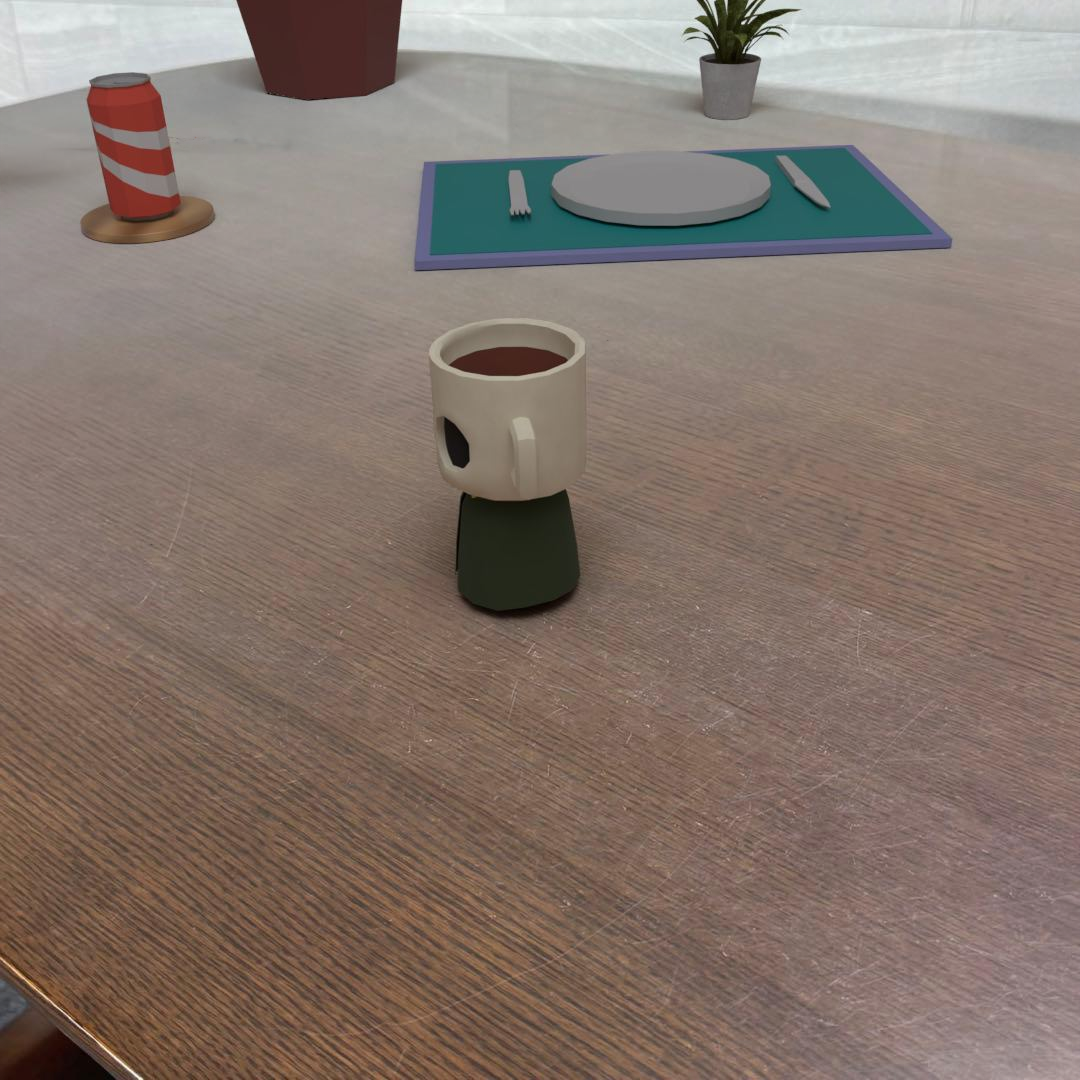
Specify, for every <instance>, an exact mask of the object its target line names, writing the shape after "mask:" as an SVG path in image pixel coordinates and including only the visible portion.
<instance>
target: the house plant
mask: <svg viewBox="0 0 1080 1080" xmlns="http://www.w3.org/2000/svg"><path fill="white" fill-rule="evenodd" d="M749 1H750V0H727V4H726V0H713V5H714V8H715V13H716V17H715V14H714V11H713V7H712V6H711V3H710V2H709V0H696V2H697V3H698V4H699V6H700V7H701V9H703V11H704V12H705V15H703V14H701V15H698V16H695V17H694V20H695V21H697V22H699V23H701V24H702V25H703V26H705V27H706V28H707V29H708V31H709V33H710V34H709V33H707V32H704V31H702V30H700V29H698V28H696V27H691V26H689V27H687V28H685V30H684V31H683V33H682V35H681V37H683V36H684V35H686V34H693V33H700V32H701V33H703V35H704V36H705V37H706V38H705V37H701V36H689V37H688V38H686V39H685V40H684V42H683V43H685V42H687V41H690V40H694V39H699V40H700V39H701V40H704V41H707V42H708V43H709V44H710V45H711V47H712V50H713V52H714V53H713V52H712V53H707V54H704V55H701V56H700V57H699V59H698V60H699V70H700V79H701V89H702V90H701V91H702V100H703V101H702V102H703V109H704V115H705V117H707V118H711V119H715V120H727V121H728V120H740V119H745V118H747V117H749V115H750V112H751V107H752V103H753V99H754V94H755V91H756V90H755V89H756V86H757V81H758V76H759V72H760V68H761V63H762V57H760V56H758V55H756V54H753V53H747V52H749V50H750V49H751V48H752V47H753V46H755V44H756V43H757V42H758V41H759V40H760V39H761V38H763V37H764V36H777V37H779V38H781V39H782V40H783V41H785V40H784V38H783V36H782V35H781V33H779V32H778V31H777V32H776V31H770V30H771V29H776V30H780V31H783V32H784V33H786V34H787V35H789V32H788V31H787V30H786V29H785V28H784V27H781V24H776V25H769V26H765V27H763V25H765V24H766V23H768V22H769V21H771V20H773V19H776V18H779V17H781V16H783V15H786V14H788V13H794V12H796V13H797V12H799V11H803V9H801V8H778V9H772V10H768V11H765V12H763V13H756V12H757V11H758V9H759V8H760V7H761V6H762V5H763V4H764V3H765V2H766V1H767V0H760V1H759V0H753V1H752V2H751V3H750V4H749ZM758 1H759V2H758ZM756 3H757V4H756ZM748 4H749V5H748ZM753 7H754V8H753ZM750 11H751V12H750ZM749 12H750V14H749V15H748V16H747V14H748V13H749ZM716 19H717V20H716ZM751 19H752V20H751ZM743 22H744V23H743ZM762 27H763V28H762ZM765 30H766V31H765ZM763 31H765V32H763ZM711 35H712V36H711ZM757 38H758V39H757ZM755 39H756V41H754V42H753V40H755ZM752 42H753V43H752Z"/></svg>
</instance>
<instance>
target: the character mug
mask: <svg viewBox="0 0 1080 1080" xmlns="http://www.w3.org/2000/svg"><path fill="white" fill-rule="evenodd" d="M586 348H587V347H586V340H585V339H584V338H583V337H582V336H581V335H580V334H578V332H576V331H575V330H574V329H572V328H570V327H567V326H564V325H562V324H559V323H556V322H553V321H547V320H541V319H536V318H529V317H524V318H523V317H512V318H511V317H508V318H507V317H503V318H502V317H501V318H500V317H499V318H493V319H486V320H481V321H480V320H479V321H475V322H470V323H467V324H464V325H461V326H458V327H456V328H453V329H450V330H448V331H446V332H445V333H444V334H442V335H440V336H439V337H438V338H436V339H435V340H433V342H432V343H431V345H430V347H429V351H428V362H429V363H428V364H429V375H430V387H431V388H430V390H431V399H432V400H431V401H432V416H433V418H432V419H433V422H432V423H433V433H434V439H435V440H434V441H435V448H436V449H435V450H436V462H437V467H438V469H439V473H440V476H441V478H442V480H443V481H444V482H445V483H447V484H448V485H449V486H451V487H452V488H454V489H457V490H458V491H461V494H460V497H459V507H458V518H457V529H456V538H455V565H454V567H455V568H454V575H455V576H457V591H458V592H459V593H460V594H461V595H462V596H464V597H465V598H466V599H467V600H468V601H469V602H471V603H472V604H474V605H477V606H480V607H484V608H486V609H490V610H494V611H497V612H501V611H509V610H516V609H523V608H528V607H532V606H537V605H540V604H544V603H549V602H553V601H555V600H557V599H559V598H561V597H562V596H565V595H566V594H568V593H569V592H571V591H573V590H574V589H575V587H576V585H577V583H578V581H579V579H580V578H581V570H580V568H581V567H580V560H579V559H580V558H579V552H578V542H577V537H576V531H575V526H574V520H573V514H572V513H573V512H572V508H571V503H570V502H571V501H570V497H569V493H568V491H567V489H569V488H571V487H573V486H574V485H575V484H576V483H577V482H578V480H579V479H580V478H581V477H582V476H583V475H584V474H585V471H586V466H587V349H586Z"/></svg>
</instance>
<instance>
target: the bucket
mask: <svg viewBox="0 0 1080 1080" xmlns="http://www.w3.org/2000/svg"><path fill="white" fill-rule="evenodd" d="M235 1H236V4H237V7H238V10H239V13H240V16H241V19H242V23H243V25H244V28H245V31H246V33H247V34H246V35H247V37H248V40H249V43H250V46H251V49H252V52H253V55H254V58H255V61H256V64H257V68H258V71H259V74H260V77H261V80H262V82H263V86H264V88H265V92H266V94H267V93H271V94H278V95H284V96H289V97H288V98H290V97H295V98H294V99H296V98H300V99H299V100H302V99H306V100H305V101H312V100H311V99H318V100H324V99H323V98H330V99H340V98H341V99H342V98H352V97H353V98H354V97H362V96H363V97H365V96H368V95H371V94H372V93H375V92H377V91H380V90H381V89H384V88H386V87H388V86H391V85H393V84H395V79H396V70H397V58H398V48H399V38H400V28H401V20H402V19H401V18H402V9H403V0H235ZM271 94H270V95H271Z"/></svg>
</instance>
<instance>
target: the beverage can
mask: <svg viewBox="0 0 1080 1080" xmlns="http://www.w3.org/2000/svg"><path fill="white" fill-rule="evenodd" d="M151 80H152V78H151V76H150V75H149V74H148V73H145V72H134V71H133V72H114V73H113V72H112V73H108V74H103V75H99V76H96V77H93V78H91V79H89V80H88V82H89V84H90V88H89V90H88V93H87V97H86V105H87V109H88V114H89V117H90V123H91V126H92V127H91V128H92V131H93V136H94V141H95V145H96V149H97V154H98V159H99V163H100V169H101V173H102V177H103V182H104V187H105V191H106V194H107V200H108V204H109V205H110V209H111V210H112V212H113V213H114V215H120V216H121V217H122V218H123V219H124V220H129V221H135V222H139V221H153V220H156V219H160V218H164V217H167V216H168V215H170V214H171V213H172V212H173V211H174V209H175V208H176V207H178V206H179V205H180V204H181V201H180V196H181V195H180V191H179V185H178V181H177V176H176V170H175V165H174V159H173V153H172V149H171V145H170V144H171V143H170V139H169V138H170V137H169V133H168V127H167V122H166V116H165V111H164V106H163V101H162V95H161V94H160V92H159V91H158V89H156V87H155V86H154V84H153V83H152V81H151ZM179 195H180V196H179Z"/></svg>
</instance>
